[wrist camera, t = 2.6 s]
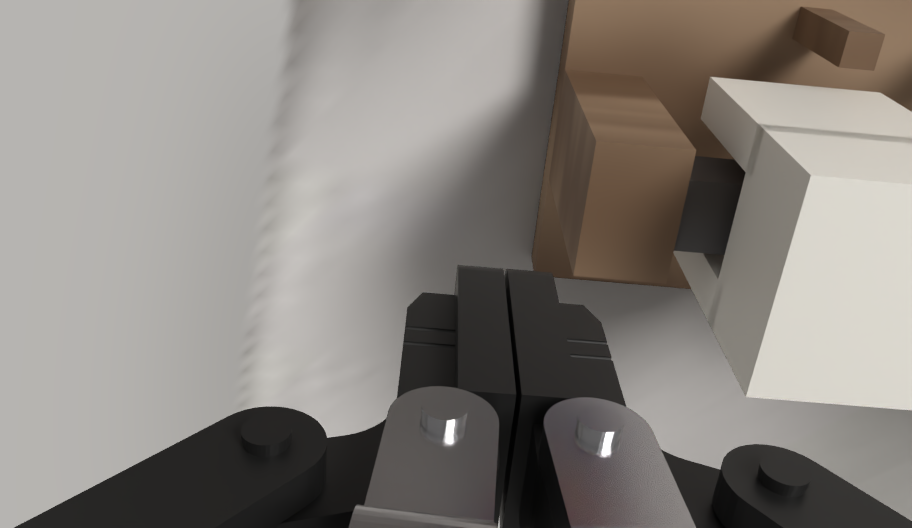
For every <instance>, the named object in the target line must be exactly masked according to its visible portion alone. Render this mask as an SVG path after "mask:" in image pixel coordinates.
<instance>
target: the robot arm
mask: <svg viewBox="0 0 912 528" xmlns="http://www.w3.org/2000/svg"><path fill="white" fill-rule="evenodd" d="M606 343H607V341H606V338H605V334H604V331H603V327H602V324H601V322H600V321H599V320H598V319H597V318H596V317H595V316H594V315H593V314H592V313H591V312H590V311H588V310H587V309H586V308H585V307H584V306H583V305H574V304H562V303H559V301H558V296H557V292H556V287H555V282H554V278H553V274H552V273H551V272H538V271H526V270H514V269H506V271H505V275H504V271H503V269H499V268H487V267H475V266H462V265H458V267H457V274H456V284H455V294H454V295H447V294H435V293H422V294H421V295H420V296H419V297H418V298H417V299H416V300H415V301H414V302H413V303H412V304H411V305H410V306H409V307H408V308H407V316H406V325H405V334H404V343H403V351H402V360H401V369H400V377H399V386H398V395H397V399H396V400H395V401H394V402H393V403H392V405H391V406H390V409H389V411H388V415H387V418H386V419H385V420H384V421H383V422H381V423H380V424H378V425H376V426H375V427H372V428H370V429H368V430H365V431H362V432H359V433H355V434H350V435H345V436H338V437H331V438H327V436H326V432H325V431H324V429H323V427H322V426H321V425H320V424H319V422H318V421H316V420H315V419H314V418H312V417H311V416H309V415H307V414H305V413H303V412H300V411H297V410H294V409H289V408H283V407H258V408H252V409H247V410H243V411H240V412H237V413H235V414H233V415H230V416H228V417H226V418H224V419H223V420H220V421H219V422H216V423H215V424H213V425H211V426H209V427H207V428H205V429H203V430H201V431H199V432H198V433H195V434H193V435H192V436H190V437H188V438H186V439H184V440H182V441H180V442H178V443H176V444H174V445H172V446H170V447H169V448H167V449H165V450H163V451H161V452H159V453H157V454H155V455H153V456H151V457H149V458H147V459H145V460H143V461H142V462H140V463H138V464H136V465H134V466H132V467H130V468H128V469H126V470H124V471H122V472H120V473H118V474H117V475H115V476H113V477H111V478H109V479H107V480H105V481H103V482H101V483H100V484H97V485H95V486H93V487H92V488H90V489H88V490H86V491H84V492H82V493H80V494H78V495H76V496H74V497H72V498H71V499H68V500H67V501H65V502H63V503H61V504H59V505H57V506H55V507H53V508H51V509H49V510H48V511H46V512H43V513H42V514H40V515H38V516H36V517H34V518H32V519H30V520H28V521H26V522H24V523H22V524H20V525H18V526H16V527H15V528H498V521H499V516H500V528H912V521H910V520H909V519H907V518H906V517H904V516H902V515H901V514H899V513H897V512H896V511H894V510H892V509H891V508H889V507H888V506H886V505H884V504H883V503H881V502H879V501H878V500H876V499H875V498H873V497H871V496H870V495H868V494H866V493H865V492H863V491H861V490H860V489H858V488H857V487H855V486H853V485H852V484H850V483H848V482H847V481H845V480H843V479H842V478H840V477H839V476H837V475H835V474H834V473H832V472H830V471H829V470H827V469H826V468H824V467H822V466H821V465H819V464H817V463H816V462H814V461H812V460H810V459H809V458H807V457H805V456H803V455H801V454H798V453H796V452H793V451H790V450H788V449H784V448H780V447H776V446H770V445H759V444H754V445H745V446H740V447H738V448H735V449H733V450H732V451H730V452H729V453H728V454H727V455H726V456H725V457H724V459H723V462H722V465H721V469H720V470H719V469H716V468H712V467H709V466H705V465H702V464H698V463H695V462H691V461H688V460H684V459H681V458H678V457H676V456H673V455H671V454H669V453H666V452H664V451H663V450H661V448H660V446H659V444H658V442H657V440H656V437H655V435H654V433H653V431H652V429H651V427H650V426H649V424H648V423H647V422H646V421H645V420H644V419H643V418H642V417H641V416H640V415H638V414H637V413H635V412H634V411H632V410H631V409H629V408H627V407H626V404H625V401H624V398H623V394H622V391H621V388H620V384H619V381H618V378H617V374H616V371H615V368H614V364H613V361H611V354H610V351H609V348H608V345H606Z"/></svg>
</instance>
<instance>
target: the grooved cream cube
mask: <svg viewBox="0 0 912 528" xmlns="http://www.w3.org/2000/svg"><path fill="white" fill-rule="evenodd" d="M701 120H702V121H703V122H704V123H705V125H706V126H707V127H708V128H709V129H710V131H711V132H712V133H713V134H714V135H715V137H716V138H717V139H718V140H719V141H720V143H721V144H722V145H723V146H724V147H725V148H726V150H727V151H728V152H729V153H730V154H731V156H732V157H733V158H734V159H735V160H736V162H737V163H738V164H739V165H740V166H741V168H742V169H743V170H744V171H745V172H746V173H745V177H744V181H743V185H742V189H741V193H740V197H739V200H738V204H737V208H736V212H735V216H734V220H733V224H732V228H731V232H730V235H729V239H728V243H727V247H726V251H725V255H718V254H707V253H695V252H684V251H674V252H673V253H674V255H675V257H676V259H677V261H678V263H679V265H680V267H681V269H682V271H683V273H684V275H685V277H686V279H687V281H688V283H689V285H690V287H691V289H692V291H693V293H694V295H695V297H696V299H697V301H698V303H699V305H700V307H701V309H702V311H703V313H704V315H705V317H706V319H707V321H708V323H709V325H710V327H711V329H712V331H713V333H714V335H715V337H716V339H717V341H718V343H719V344H720V346H721V348H722V350H723V352H724V354H725V356H726V358H727V360H728V362H729V364H730V366H731V368H732V370H733V372H734V374H735V376H736V378H737V380H738V382H739V384H740V386H741V388H742V390H743V392H744V394H745V396H746V397H752V398H765V399H777V400H790V401H802V402H814V403H827V404H839V405H852V406H864V407H876V408H889V409H901V410H912V112H911V111H909V110H908V109H906V108H905V107H903V106H901V105H900V104H898V103H897V102H895V101H893V100H892V99H890V98H888V97H887V96H885V95H884V94H882V93H879V92H869V91H858V90H847V89H836V88H826V87H815V86H804V85H793V84H783V83H772V82H761V81H750V80H740V79H729V78H718V77H710V79H709V84H708V88H707V93H706V97H705V101H704V106H703V110H702V115H701Z"/></svg>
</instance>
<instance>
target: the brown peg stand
mask: <svg viewBox="0 0 912 528" xmlns="http://www.w3.org/2000/svg"><path fill="white" fill-rule="evenodd" d="M710 77H718V78H729V79H740V80H750V81H761V82H772V83H783V84H793V85H804V86H815V87H826V88H836V89H847V90H858V91H869V92H879V93H882V94H884V95H885V96H887V97H888V98H890V99H892V100H893V101H895V102H897V103H898V104H900V105H901V106H903V107H905V108H906V109H908V110H909V111H911V112H912V0H569V3H568V10H567V17H566V24H565V31H564V37H563V44H562V51H561V58H560V65H559V72H558V79H557V86H556V93H555V99H554V106H553V113H552V120H551V127H550V134H549V141H548V148H547V155H546V161H545V168H544V175H543V182H542V189H541V196H540V203H539V210H538V216H537V223H536V230H535V237H534V244H533V251H532V263H533V269H534V271H538V272H551V273H552V274H553V277H557V278H568V279H580V280H592V281H604V282H616V283H627V284H639V285H651V286H663V287H675V288H686V289H691V287H690V285H689V283H688V281H687V279H686V277H685V275H684V273H683V271H682V269H681V267H680V265H679V263H678V261H677V259H676V257H675V255H674V253H673V252H674V251H684V252H695V253H707V254H718V255H725V251H726V247H727V243H728V239H729V235H730V232H731V228H732V224H733V220H734V216H735V212H736V208H737V204H738V200H739V197H740V193H741V189H742V185H743V181H744V177H745V173H746V172H745V171H744V170H743V169H742V168H741V166H740V165H739V164H738V163H737V162H736V160H735V159H734V158H733V157H732V156H731V154H730V153H729V152H728V151H727V150H726V148H725V147H724V146H723V145H722V144H721V143H720V141H719V140H718V139H717V138H716V137H715V135H714V134H713V133H712V132H711V131H710V129H709V128H708V127H707V126H706V125H705V123H704V122H703V121H702V120H701V115H702V110H703V106H704V101H705V97H706V93H707V88H708V84H709V79H710Z"/></svg>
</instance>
